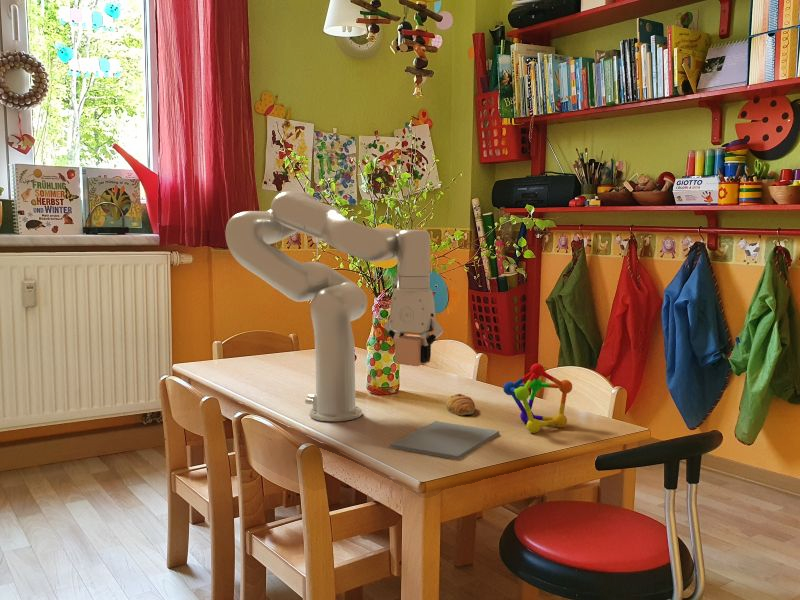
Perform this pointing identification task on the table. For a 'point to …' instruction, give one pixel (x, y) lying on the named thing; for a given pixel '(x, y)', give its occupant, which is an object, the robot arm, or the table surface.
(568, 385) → the educational toy
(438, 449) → the mat
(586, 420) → the table surface
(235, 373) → the table surface
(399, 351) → the cube
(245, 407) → the table surface
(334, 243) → the robot arm
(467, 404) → the pastry
